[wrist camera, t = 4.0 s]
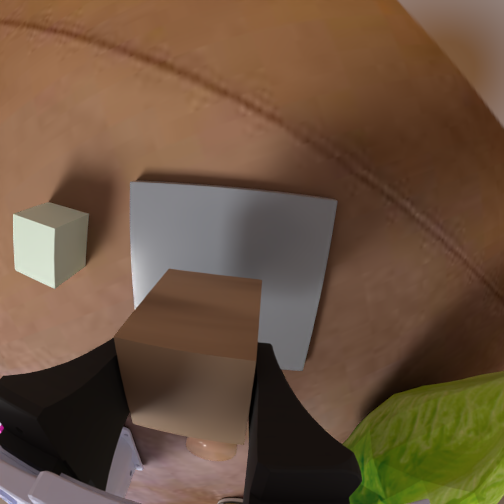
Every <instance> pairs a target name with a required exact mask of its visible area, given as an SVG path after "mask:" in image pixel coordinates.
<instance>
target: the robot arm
mask: <svg viewBox="0 0 504 504" xmlns="http://www.w3.org/2000/svg"><path fill="white" fill-rule="evenodd" d="M129 413H130V411H129V407H128V403H127V399H126V395H125V391H124V386H123V382H122V377H121V373H120V368H119V363H118V358H117V353H116V347H115V342H114V338H112V339H111V340H109V341H107V342H106V343H104V344H103V345H101V346H99V347H97V348H95V349H94V350H92V351H90V352H88V353H86V354H84V355H82V356H80V357H78V358H76V359H74V360H71V361H69V362H66V363H64V364H61V365H58V366H55V367H51V368H48V369H45V370H41V371H37V372H32V373H26V374H18V375H9V376H3V377H2V378H1V379H0V422H1V424H2V425H3V427H4V429H3V430H2V432H1V433H0V497H1V498H2V499H3V500H5V501H6V502H7V503H9V504H141V503H138V502H134V501H131V500H128V499H125V496H126V493H127V490H128V488H129V485H130V482H131V479H132V477H133V474H134V471H135V469H137V470H143V465H142V462H141V460H140V457H139V454H138V452H137V449H136V446H135V443H134V440H133V437H132V434H131V431H130V430H129V429H128V428H126V427H123V426H124V423H125V421H126V419H127V417H128V415H129ZM361 482H362V475H361V470H360V467H359V464H358V461H357V459H356V456H355V454H354V452H352V451H351V450H349V449H348V448H347V447H345V446H344V445H342V444H341V443H340V442H338V441H337V440H335V439H334V438H333V437H332V436H331V435H330V434H328V433H327V432H326V431H325V430H324V429H323V428H322V427H321V426H320V425H319V424H318V423H317V422H316V421H315V420H314V419H313V418H312V417H311V415H310V414H309V413H308V412H307V411H306V409H305V408H304V407H303V405H302V404H301V403H300V401H299V400H298V399H297V397H296V396H295V394H294V393H293V391H292V389H291V388H290V386H289V384H288V382H287V381H286V379H285V377H284V375H283V373H282V371H281V369H280V366H279V364H278V362H277V359H276V356H275V354H274V350H273V346H272V345H271V344H270V343H261V342H258V345H257V358H256V366H255V374H254V381H253V387H252V394H251V401H250V408H249V450H248V460H247V470H246V479H245V488H244V497H243V504H350V501H349V497H350V496H351V495H352V493H353V492H354V491H355V490H356V489H357V488H358V487H359V485H360V484H361ZM408 504H430V501H429V499H423V500H420V501H416V502H412V503H408Z"/></svg>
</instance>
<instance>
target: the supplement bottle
mask: <svg viewBox="0 0 504 504" xmlns="http://www.w3.org/2000/svg"><path fill="white" fill-rule="evenodd" d="M218 504H243V499H240V498H224V499H221V500H220V501H219V502H218Z"/></svg>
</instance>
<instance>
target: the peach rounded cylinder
mask: <svg viewBox="0 0 504 504" xmlns="http://www.w3.org/2000/svg"><path fill="white" fill-rule="evenodd" d="M186 447H187V449H188V450H189V451H190V452H191V453H192V454H194V455H196V456H198V457H200V458H203V459H206V460H211V461H225V460H229V459H231V458H233V457H234V456H235V454H236V450H237V444H232V443H224V442H217V441H210V440H204V439H198V438H192V437H187V441H186Z"/></svg>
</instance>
